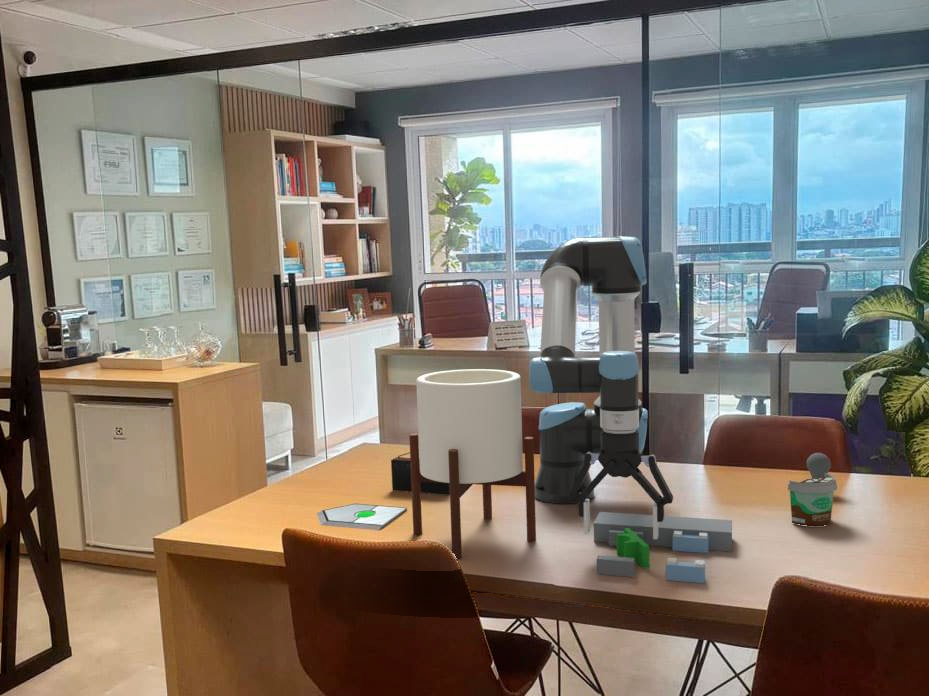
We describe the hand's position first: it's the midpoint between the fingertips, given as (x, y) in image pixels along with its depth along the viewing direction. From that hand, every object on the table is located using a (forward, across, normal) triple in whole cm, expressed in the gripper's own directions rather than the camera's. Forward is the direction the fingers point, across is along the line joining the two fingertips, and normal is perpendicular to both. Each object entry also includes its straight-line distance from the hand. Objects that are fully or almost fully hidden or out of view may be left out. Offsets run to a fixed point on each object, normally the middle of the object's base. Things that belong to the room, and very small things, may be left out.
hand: (621, 534), depth 168 cm
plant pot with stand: (+5, -33, +6) cm, 34 cm away
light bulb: (+4, +41, +56) cm, 70 cm away
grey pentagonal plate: (+6, -66, +14) cm, 68 cm away
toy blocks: (+5, +7, +5) cm, 10 cm away
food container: (+5, +39, +32) cm, 50 cm away
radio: (+5, -56, +38) cm, 68 cm away
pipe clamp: (+6, +2, +1) cm, 6 cm away
